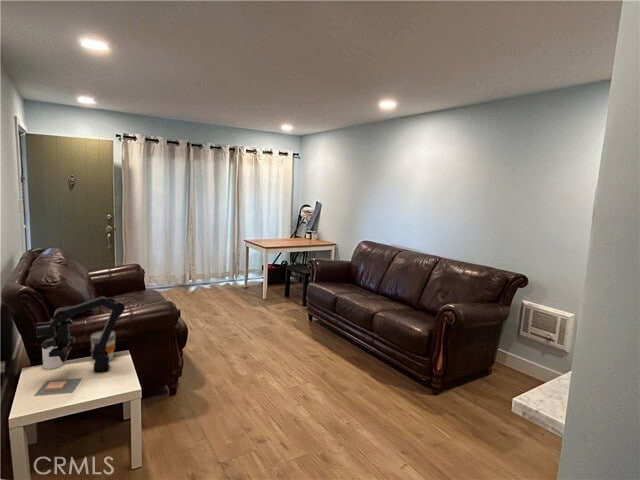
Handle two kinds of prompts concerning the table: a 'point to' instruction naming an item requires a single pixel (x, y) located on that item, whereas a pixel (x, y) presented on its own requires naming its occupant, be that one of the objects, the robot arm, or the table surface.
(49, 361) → the mug
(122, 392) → the table surface
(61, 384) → the tile
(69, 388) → the mat
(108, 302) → the robot arm
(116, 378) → the table surface
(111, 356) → the reusable coffee cup
